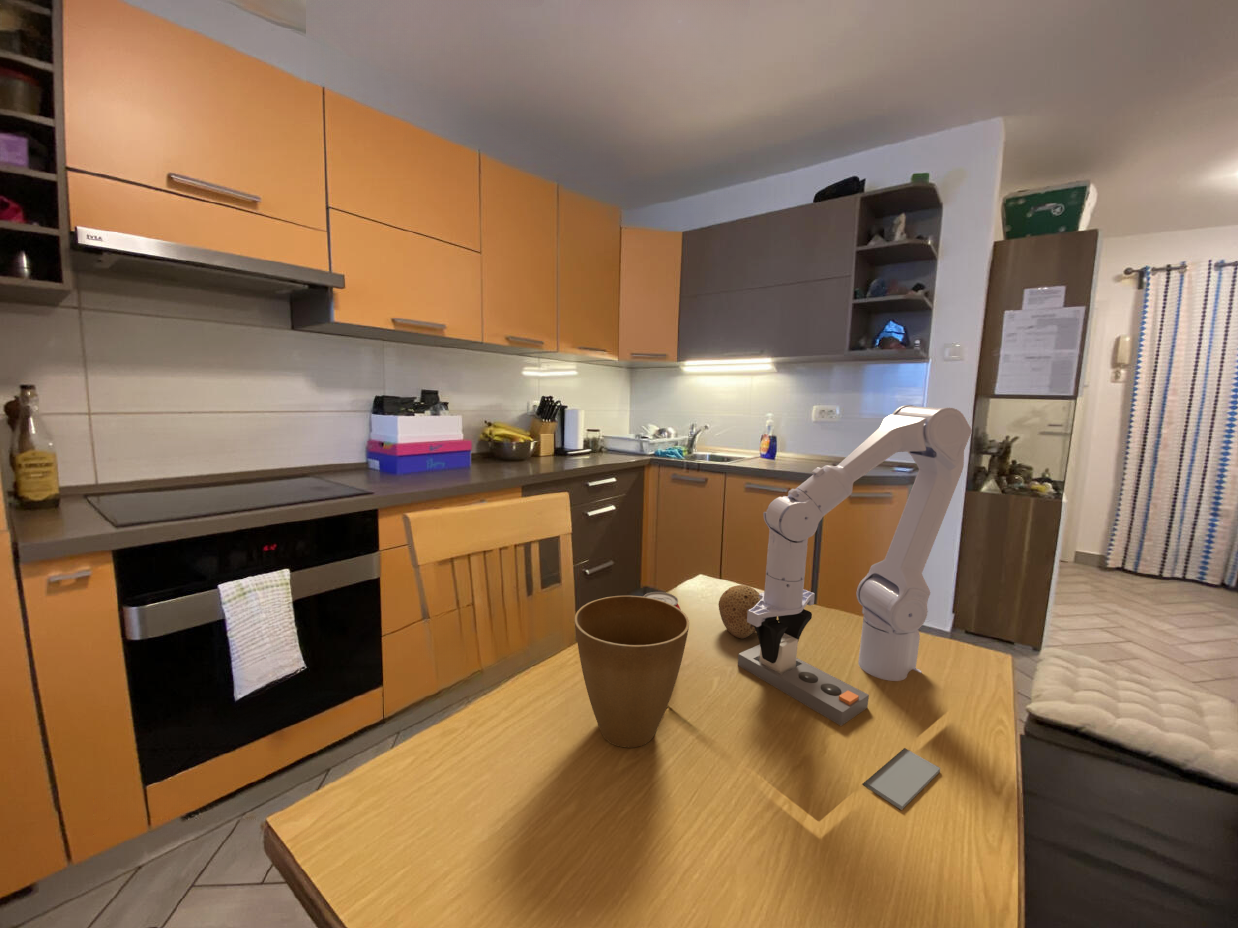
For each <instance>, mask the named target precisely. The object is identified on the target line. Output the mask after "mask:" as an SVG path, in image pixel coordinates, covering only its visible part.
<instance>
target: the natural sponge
mask: <svg viewBox="0 0 1238 928" xmlns="http://www.w3.org/2000/svg"><path fill="white" fill-rule="evenodd" d="M759 594H760V593H759V592H758V590H756V589H754V588H753V587H752V586H748V585H745V584H739V585H733V586H731V587H729V588H727V590H725V591H724V592H723V593H722V594H721V596H720V598H719V599H718V611H719V615H720V618H721V620H722V623H723V625H724V628H725V629H726V630H727V631H728V632H729V634H731V636H733V637H735V638H737V639H746V638H748V637H749V636H751V635H752V634H755V633H757V632H756V630H755V628H754V625H752V624H750V623H748V622H747V613H748V610H750V609H752V608H753V607H754V606H755V605H756V604H757V603H758V602H759V601H760V600H761V599H760V598H759Z"/></svg>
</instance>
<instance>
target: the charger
mask: <svg viewBox="0 0 1238 928" xmlns="http://www.w3.org/2000/svg"><path fill="white" fill-rule="evenodd" d="M798 644H799V640H798V639H796V638H794V637H792V636H790V635H788V634H785V633H784V635H783V637H782V639H781V642H780V646H779V652H778V657H777V660H776V662H775V663H770V662H769V661H767V660H765V659H763V657H762V652H761V647H760V658H759V662H760V663H762V664H764V665H766V666H767V667H769V668H771V669H773V670H775V671H776V672H778V673H780V674H783V673H785V672H787V671H789V670H791V669H793V668H795V667H796V658H798V657H797V654H798V646H799V645H798Z"/></svg>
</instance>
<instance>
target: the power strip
mask: <svg viewBox="0 0 1238 928" xmlns="http://www.w3.org/2000/svg"><path fill="white" fill-rule="evenodd" d="M737 656H738V657H737V666H739V667H740V668H741V669H742V670H745V671H747V672H748V673H750V674H752V675H754V676H755V677H757V678H759V679H760V680H762V681H763V682H765V683H767V684H769V685H771V686H772V687H774V688H775V689H778V690H779V691H781V692H783V693H785V694H786V695H788V696H789V697H791V698H793V699H795V700H796V701H798V702H799V703H801V704H802V705H804V706H806V707H808V708H810V709H811V710H813V711H815V712H816V713H818V714H820V715H822V716H823V717H824V718H827V719H828V720H829V721H832V722H833V723H835V724H836V725H839V726H840V727H842V726H844V724H846V723H848V722H849V721H850V720H852V719H854V718H855V717H856V716H858V715H859V714H861V713H862V712H864V711H865V710H866V709H868V707H869V697H870V694H868V693H867V692H864V691H863V690H860V689H859V688H856V687H854V686H853V685H851V684H850V683H846V682H845V681H843V680H841V679H839V678H837V677H835V676H833V675H831V674H829V673H827V672H825V671H823V670H822V669H819V668H817V667H816V666H813V665H812V664H810V663H807V662H806V661H804V660H802V659H800V658H798V657H796V667H795V668H793V669H791V670H789V671H787V672H785V673H783V674H780V673H778V672H776V671H775V670H773V669H771V668H769V667H767V666H766V665H764V664H762V663H760V662H759V658H760V644H758V645H755V646H753V647H751V648H748V649H745V650H743V651H741V652H739V653H738V655H737Z"/></svg>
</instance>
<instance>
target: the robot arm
mask: <svg viewBox="0 0 1238 928" xmlns="http://www.w3.org/2000/svg"><path fill="white" fill-rule="evenodd" d="M972 431H973V430H972V428H971V426H970V425H969V422H968V421H967V419H966V417H965V416H964V414H963V413H962V412H961V411H960V410H959V409H957V408H955V407H928V406H917V405H913V404H906V405H902V406H900V407H898V408H897V409H895V410H894V411H893V412H892V414H889V415H888V416H886V417H884V418H883V419H882V422H881V424H880V426H879V427H878V428H877V429H876V430H875V431H874V432H872V434H870V435H869V436H868V437H867V438H866V439H864V441H863V442H862V443H860V445H858V446H857V447H856V448H855V449H854V450H853V451H851V453H849V454H848V455H847V456H846V457H845V458H844V459H843V460H841V461H840V462H839V463H838V464H837V465H824V466H822V467H819V466H818V467H816V468H814V469H813V470H812V471H811V474H812V475H811V476H810V477H808V478H807V479H806V480H805V481H803V482H802V483H801V484H800V485H798V486H797V487H795V488H791V489H790V490H788V492H787V496H786V495H783V496H778V497H776V498H774V499H773V500H772V501H771V502H770V503H769V504H768V506H767V508H766V511H763V513H762V515H763V520H764V521H763V522H765V524H766V526H767V527H768V529H769V530H768V531H769V532H768V544H767V552H766V553H767V555H766V567H765V581H764V591H763V592H760V593H759V598H760V599H761V600H760V601H759V602H758V603H757V604H756V605H755V606H754V607H753V608H752V609H750V610H748V613H747V622H748V623H750V624H752V625H754V628H755V630H756V632H755V633H756V634H757V637H758V642H759V645H760V647H761V652H762V657H763V659H765V660H767V661H769V662H770V663H775V662H776V660H777V657H778V652H779V646H780V642H781V639H782V637H783V635H784V633H785V634H788V635H790V636H792V637H794V638H796V639H798V641H799V640H800V637H801V636H802V633H803V631H804V629H805V628H806V626H807V625H808V623H809V622H810V621H811V620H812V618H813V613H812V612H811V611H810V610H807V609H805V608H806V607H807V605H808V606H813V605H814V604H815V593H814V592H811V591H810V590H807V589H804V585H805V575H806V565H807V554H808V543H809V538H811V537H813V536H814V535H815V533H816V531H817V530H818V527H819V523H820V522H821V520H823V517H824V516H826V515H827V514H828V513H830V512H831V511H832V510H834V509H835V508H836V507H837V506H838V505H839V504H841V503H842V502H843V501H845V500H846V499H848V498H849V497H850V496H851V495H852V494H853V488H854V487H853V486H854V482H856V481H857V480H859V479H860V478H863V476H865V475H867V474H868V473H869V472H870V471H871V470H874V469H875V468H876V467H878V466H880V465H881V464H882V463H883V462H885V461H886V460H888V459H889V458H890V457H892V456H894V455H895V454H896V453H908V454H909V455H910V456H911V457H912V460H913V461H914V463H915V464H916V466H917V468H918V472H917V475H916V477H915V479H914V483H913V485H912V488H911V490H910V492H909V495H908V498H907V500H906V503H905V505H904V508H903V511H902V513H901V516H900V519H899V521H898V524H897V526H896V529H895V531H894V534H893V537H892V540H891V541H890V545H889V547H888V550H887V552H886V555H885V557H884V559H882V560H881V561H879V562H875V563H874V564H872V565H871V566H870V567H869V570H868V572H867V574H866V575H865V577H863V578H862V580H860V582H859V584H858V586H857V589H856V599H857V602H858V603H859V604H860V605H861V606H862V609H861V610H862V611H861V613H862V614H863V619H862V626H861V627H862V628H861V636H860V645H859V653H858V666H859V668H860V669H861V670H862V671H864V672H865V673H866V674H869V675H871V676H872V677H875V678H878V679H881V680H885V681H889V682H890V681H891V682H892V681H893V682H900V681H903V680H905V679H906V678H907V677H908V674H909V672H911V671H912V670H913V671H914V672H915V671H916V672H918V673H920V674H922V670H921V669H918V668H917V663H918V662H917V661H918V654H919V647H920V640H921V638H920V637H921V635H920V631H919V629H920V628H921V627H922V626H923V625H924V624H925V622H926V620H927V617H928V612H929V610H928V601H929V598H930V595H931V590H930V588H929V586H928V584H927V582H926V580H925V578H924V575H923V573H924V572H923V571H924V568H925V567H926V564H927V561H928V559H929V556H930V554H931V552H932V549H933V547H934V544H935V542H936V539H937V536H938V533H939V531H940V528H941V526H942V524H943V520H944V518H945V516H946V513H947V511H948V509H949V506H950V503H951V501H952V499H953V496H954V493H955V491H956V488H957V485H958V483H959V481H960V477H961V475H962V473H963V471H964V470H963V469H964V465H965V450H966V448H967V444H968V442H969V439H970V436H971V434H972Z"/></svg>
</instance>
